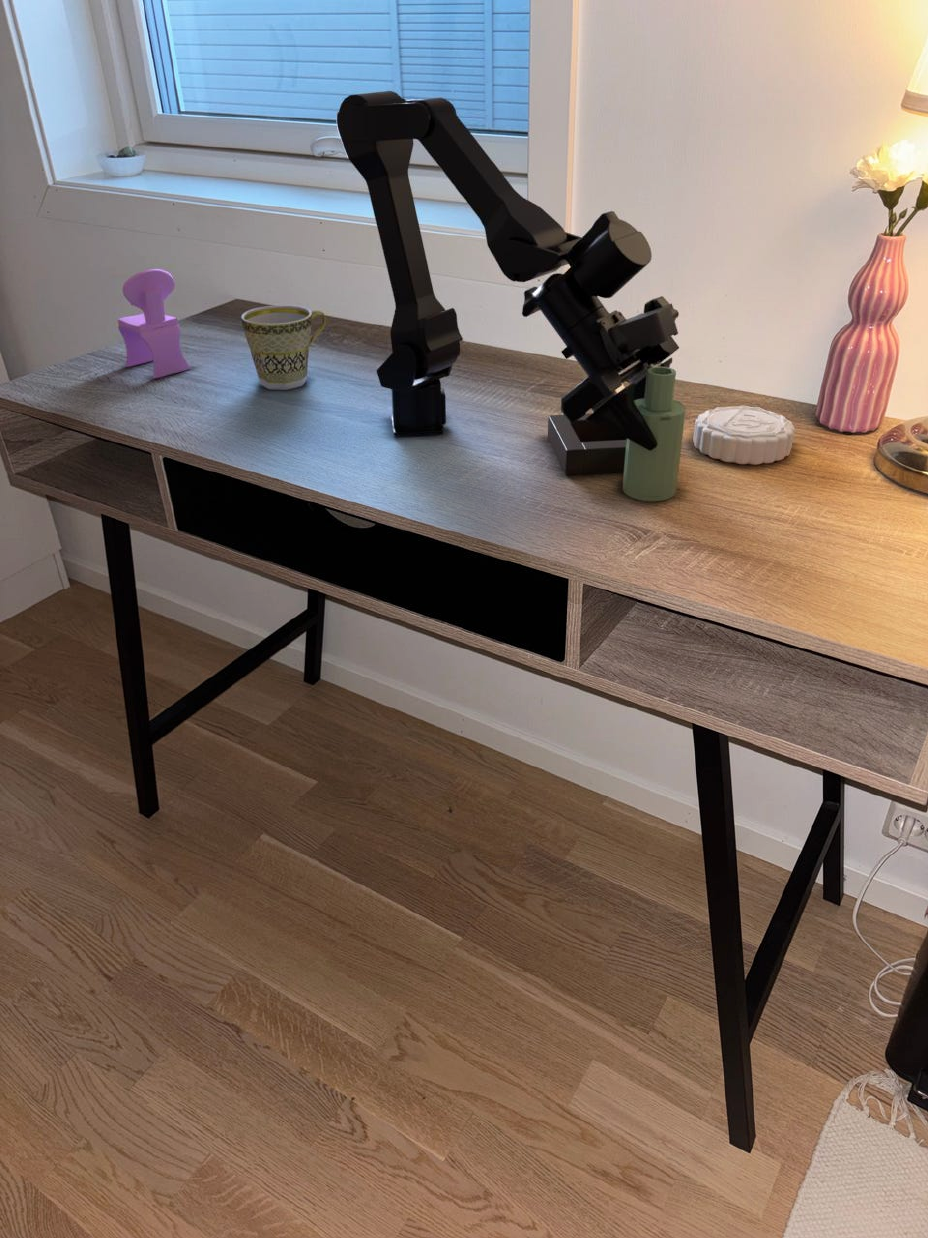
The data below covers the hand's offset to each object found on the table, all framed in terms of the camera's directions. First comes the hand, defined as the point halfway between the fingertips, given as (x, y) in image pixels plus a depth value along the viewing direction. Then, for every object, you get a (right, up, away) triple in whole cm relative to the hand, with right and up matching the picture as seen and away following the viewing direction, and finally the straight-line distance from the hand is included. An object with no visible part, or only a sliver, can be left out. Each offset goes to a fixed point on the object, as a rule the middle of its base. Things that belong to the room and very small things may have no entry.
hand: (666, 438), depth 108 cm
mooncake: (+13, +2, +15) cm, 20 cm away
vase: (-1, -5, +4) cm, 7 cm away
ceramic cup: (-48, +15, +37) cm, 63 cm away
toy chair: (-70, +19, +43) cm, 84 cm away
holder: (-5, +1, +13) cm, 14 cm away
